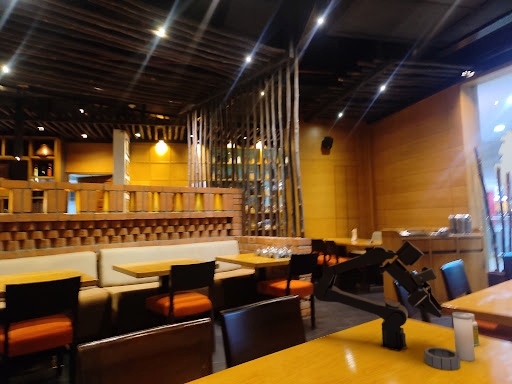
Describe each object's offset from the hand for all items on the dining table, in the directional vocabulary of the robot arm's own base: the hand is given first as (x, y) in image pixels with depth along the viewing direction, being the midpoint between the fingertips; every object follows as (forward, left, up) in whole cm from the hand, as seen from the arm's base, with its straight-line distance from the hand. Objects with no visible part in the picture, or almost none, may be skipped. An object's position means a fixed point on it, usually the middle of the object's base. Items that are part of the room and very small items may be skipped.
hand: (441, 313), depth 107 cm
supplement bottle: (+4, +16, -13) cm, 21 cm away
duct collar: (+2, -8, -13) cm, 15 cm away
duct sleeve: (+6, +1, -13) cm, 14 cm away
